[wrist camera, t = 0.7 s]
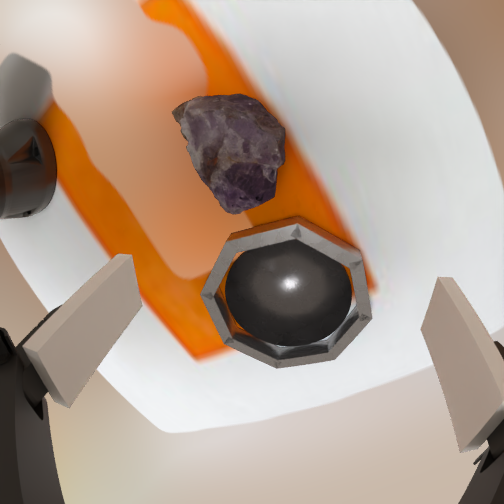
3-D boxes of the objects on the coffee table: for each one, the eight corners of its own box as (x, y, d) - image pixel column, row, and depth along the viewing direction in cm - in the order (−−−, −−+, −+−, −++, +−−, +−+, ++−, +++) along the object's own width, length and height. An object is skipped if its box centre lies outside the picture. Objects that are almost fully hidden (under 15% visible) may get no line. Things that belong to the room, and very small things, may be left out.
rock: (229, 198, 35) (309, 158, 31) (211, 237, 28) (313, 189, 24) (171, 112, 30) (252, 62, 26) (135, 130, 23) (237, 60, 19)
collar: (192, 313, 42) (185, 324, 39) (252, 191, 33) (248, 197, 31) (312, 370, 42) (311, 383, 40) (396, 272, 34) (401, 283, 31)
